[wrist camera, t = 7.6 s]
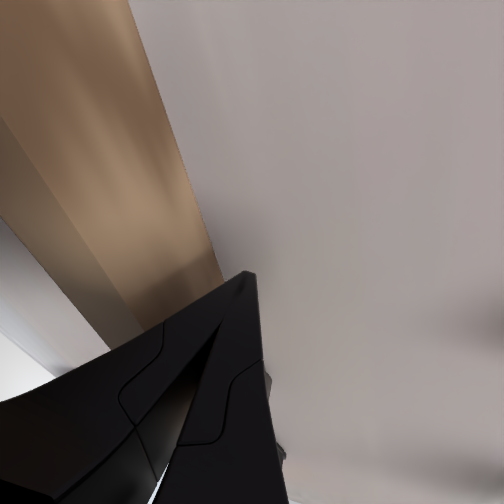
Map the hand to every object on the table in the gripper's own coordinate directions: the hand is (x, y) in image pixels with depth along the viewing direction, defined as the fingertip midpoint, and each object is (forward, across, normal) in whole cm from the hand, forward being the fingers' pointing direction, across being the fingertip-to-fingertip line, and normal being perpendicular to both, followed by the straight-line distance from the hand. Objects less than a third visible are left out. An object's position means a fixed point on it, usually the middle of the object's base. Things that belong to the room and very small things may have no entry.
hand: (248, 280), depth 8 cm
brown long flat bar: (+3, +2, +3) cm, 4 cm away
